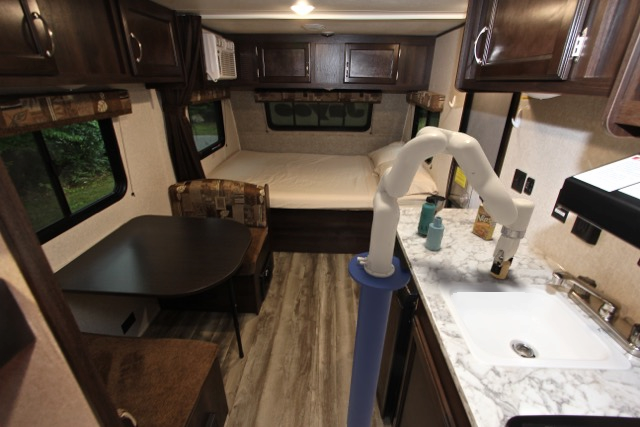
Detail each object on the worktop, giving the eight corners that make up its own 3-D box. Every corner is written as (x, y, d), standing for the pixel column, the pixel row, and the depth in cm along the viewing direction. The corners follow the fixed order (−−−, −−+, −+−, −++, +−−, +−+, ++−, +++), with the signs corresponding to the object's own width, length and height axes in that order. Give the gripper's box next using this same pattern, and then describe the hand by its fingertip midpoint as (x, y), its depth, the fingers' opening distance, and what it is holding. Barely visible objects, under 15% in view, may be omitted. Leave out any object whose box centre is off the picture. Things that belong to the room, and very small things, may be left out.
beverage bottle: (420, 229, 150) (427, 193, 142) (432, 234, 146) (440, 197, 138) (414, 233, 146) (420, 196, 138) (426, 238, 142) (433, 200, 133)
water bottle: (426, 249, 133) (432, 220, 126) (424, 242, 138) (429, 214, 132) (441, 251, 132) (448, 221, 126) (438, 244, 138) (444, 215, 131)
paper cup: (493, 278, 115) (497, 264, 112) (488, 269, 120) (492, 256, 117) (508, 279, 114) (513, 265, 111) (502, 271, 119) (507, 258, 116)
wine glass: (426, 219, 162) (431, 194, 156) (441, 222, 158) (447, 197, 152) (423, 224, 156) (428, 198, 149) (439, 228, 152) (444, 202, 146)
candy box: (471, 232, 149) (478, 204, 143) (477, 230, 151) (485, 203, 144) (485, 240, 142) (494, 211, 135) (492, 239, 143) (501, 210, 137)
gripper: (512, 221, 116) (500, 257, 123) (491, 233, 106) (480, 271, 114) (533, 228, 110) (520, 266, 118) (513, 242, 101) (500, 281, 108)
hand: (500, 268), depth 116 cm, fingers open, 9 cm apart
